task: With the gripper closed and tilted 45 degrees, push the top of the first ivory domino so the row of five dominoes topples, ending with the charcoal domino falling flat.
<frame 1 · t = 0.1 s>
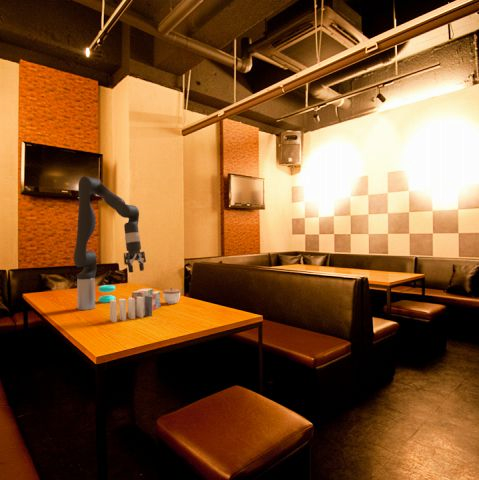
hand: (136, 271, 177), 22 cm above the table, tool pointing down, fingers open, 8 cm apart
domino 3: (131, 318, 166), on the table
domino 4: (140, 316, 169), on the table
stack of blocks: (147, 311, 183), on the table
domino 5: (148, 315, 172), on the table
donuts: (107, 301, 211), on the table
domino 1: (113, 321, 160), on the table
domino 2: (122, 319, 163), on the table
lidded jar: (171, 303, 205), on the table
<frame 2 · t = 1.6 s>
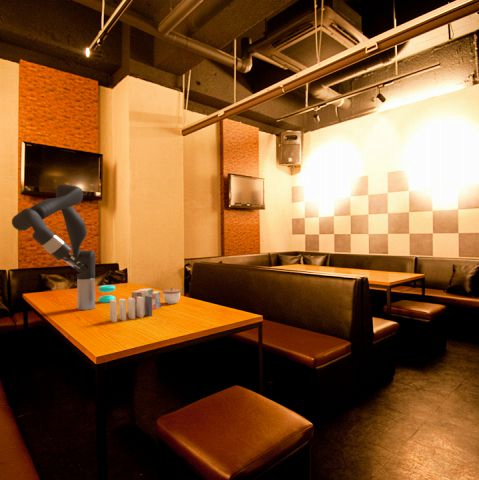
hand: (84, 271, 152), 25 cm above the table, tool tilted 45°, fingers open, 8 cm apart
nothing on the table moved.
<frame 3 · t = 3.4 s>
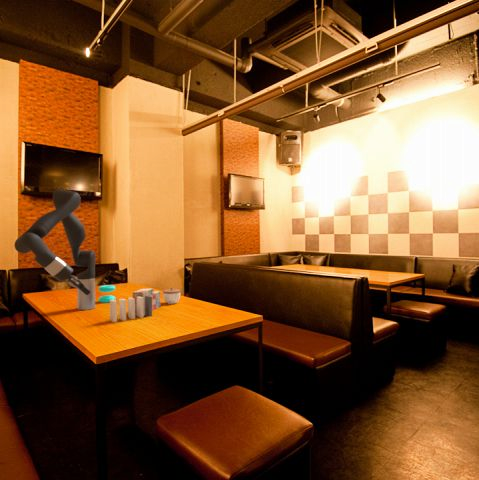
hand: (88, 293, 153), 15 cm above the table, tool tilted 45°, fingers closed
nothing on the table moved.
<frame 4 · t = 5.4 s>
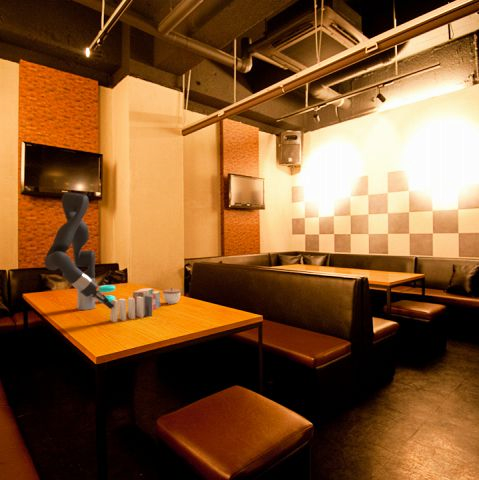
hand: (112, 307, 160), 7 cm above the table, tool tilted 45°, fingers closed
domino 1: (113, 320, 160), on the table, tilted 6°
everything else where it was.
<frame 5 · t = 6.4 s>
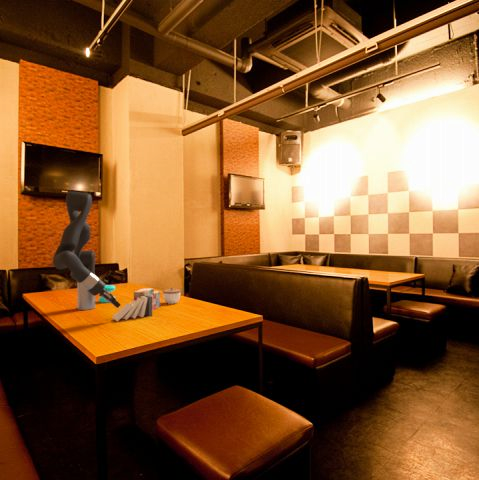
hand: (118, 306, 162), 7 cm above the table, tool tilted 45°, fingers closed
domino 3: (132, 317, 166), on the table, tilted 28°, touching domino 2, domino 4
domino 4: (140, 316, 169), on the table, tilted 13°, touching domino 3, stack of blocks
stack of blocks: (147, 311, 184), on the table, touching domino 4
domino 1: (114, 319, 161), point 1 cm above the table, tilted 51°, touching domino 2
domino 2: (123, 318, 164), point 1 cm above the table, tilted 42°, touching domino 1, domino 3
everything else where it was.
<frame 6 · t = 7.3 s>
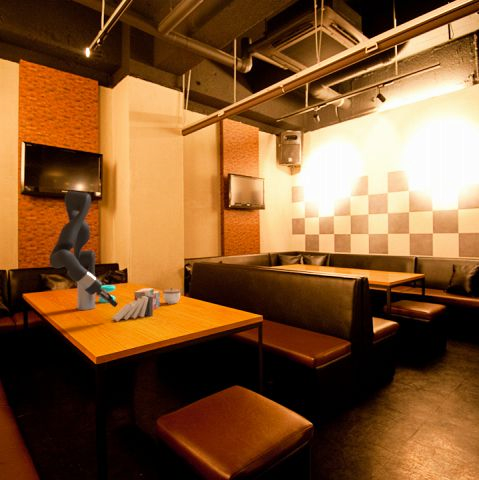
hand: (115, 305, 161), 7 cm above the table, tool tilted 45°, fingers closed
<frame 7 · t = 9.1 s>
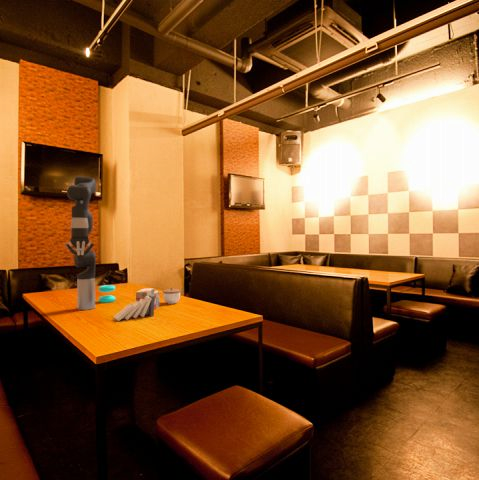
hand: (80, 262, 160), 28 cm above the table, tool pointing down, fingers closed
domino 3: (132, 316, 167), on the table, tilted 36°, touching domino 2, domino 4
domino 4: (140, 315, 169), point 1 cm above the table, tilted 24°, touching domino 3
stack of blocks: (148, 310, 184), on the table, touching domino 5
domino 5: (150, 315, 172), on the table, touching stack of blocks
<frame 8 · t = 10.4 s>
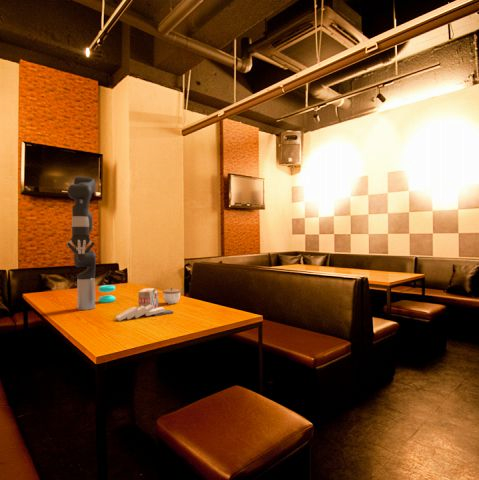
hand: (80, 261, 160), 29 cm above the table, tool pointing down, fingers closed
domino 3: (134, 316, 167), point 1 cm above the table, tilted 67°, touching domino 2, stack of blocks
domino 4: (144, 313, 170), point 1 cm above the table, tilted 83°, touching domino 5
stack of blocks: (149, 310, 184), on the table, touching domino 3
domino 5: (153, 314, 173), on the table, tilted 90°, touching domino 4
domino 1: (117, 318, 162), point 1 cm above the table, tilted 67°
domino 2: (125, 317, 164), point 1 cm above the table, tilted 67°, touching domino 3
everything else where it was.
at the end: domino 5 tilted 90°; domino 3 tilted 67°; the gripper is holding nothing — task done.
